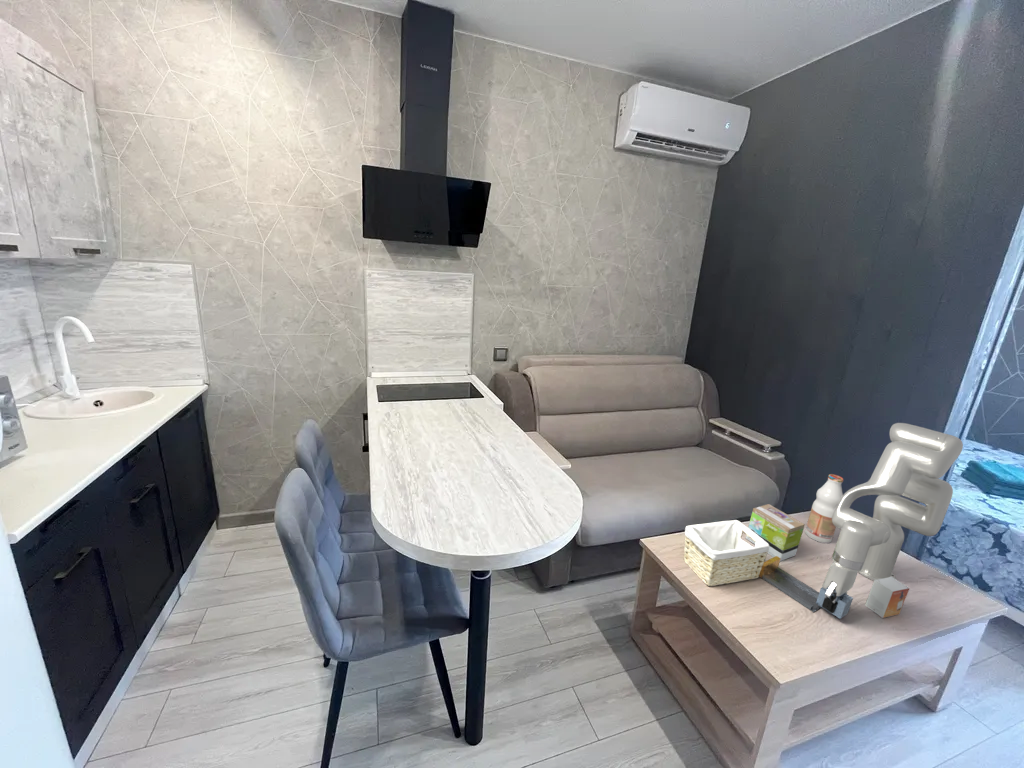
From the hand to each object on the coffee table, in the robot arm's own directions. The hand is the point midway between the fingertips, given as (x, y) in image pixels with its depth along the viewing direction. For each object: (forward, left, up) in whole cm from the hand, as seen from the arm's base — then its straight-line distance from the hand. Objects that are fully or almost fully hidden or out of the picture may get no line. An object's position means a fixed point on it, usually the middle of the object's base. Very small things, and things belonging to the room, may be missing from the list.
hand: (832, 606), depth 135 cm
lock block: (0, 0, -1) cm, 1 cm away
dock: (0, -11, -3) cm, 12 cm away
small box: (-18, +8, -3) cm, 20 cm away
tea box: (-16, -28, -3) cm, 33 cm away
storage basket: (+15, -29, -3) cm, 33 cm away
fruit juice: (-43, -23, -3) cm, 49 cm away
